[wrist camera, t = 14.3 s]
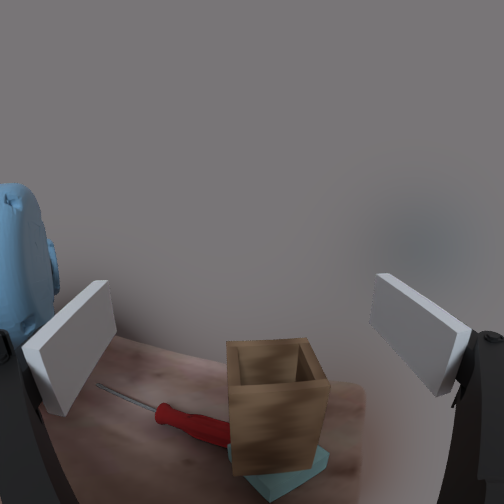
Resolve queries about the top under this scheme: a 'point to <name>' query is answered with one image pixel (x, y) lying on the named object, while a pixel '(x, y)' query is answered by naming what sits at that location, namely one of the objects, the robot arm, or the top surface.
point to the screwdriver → (187, 422)
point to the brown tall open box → (274, 405)
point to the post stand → (285, 477)
